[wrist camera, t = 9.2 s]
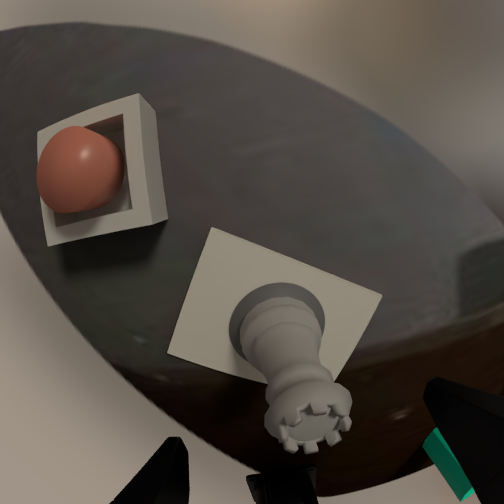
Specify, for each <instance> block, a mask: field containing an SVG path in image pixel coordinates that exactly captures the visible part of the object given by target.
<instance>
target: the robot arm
mask: <svg viewBox="0 0 504 504" xmlns="http://www.w3.org/2000/svg"><path fill="white" fill-rule="evenodd" d="M423 399H424V402H425V404H426V406H427V408H428V410H429V412H430V414H431V416H432V418H433V420H434V422H435V424H436V426H437V428H438V430H439V432H440V433H441V435H442V437H443V438H444V440H445V441H446V443H447V445H448V446H449V448H450V449H451V451H452V453H453V454H454V456H455V458H456V459H457V461H458V463H459V465H460V466H461V468H462V470H463V471H464V473H465V475H466V477H467V478H468V480H469V482H470V484H471V486H472V487H473V489H474V491H475V493H476V495H477V497H478V499H479V501H480V502H481V504H504V397H503V396H499V395H496V394H492V393H489V392H485V391H482V390H478V389H475V388H472V387H468V386H465V385H462V384H459V383H456V382H453V381H449V380H446V379H443V378H440V377H434V378H432V379H430V380H428V382H427V384H426V388H425V391H424V395H423ZM188 459H189V458H188V451H187V449H186V447H185V445H184V443H183V441H182V439H181V438H180V437H168V438H167V439H166V440H165V441H164V443H163V444H162V445H161V446H160V448H159V449H158V450H157V451H156V452H155V453H154V455H153V456H152V457H151V458H150V459H149V460H148V462H147V463H146V464H145V465H144V466H143V467H142V468H141V470H140V471H139V472H138V473H137V474H136V475H135V476H134V477H133V479H132V480H131V481H130V482H129V483H128V484H127V485H126V486H125V488H124V489H123V490H122V491H121V492H120V493H119V494H118V495H117V496H116V497H115V498H114V501H112V502H111V503H110V504H188V503H189V490H190V489H189V488H190V487H189V461H188ZM246 481H247V484H248V486H249V489H250V492H251V494H252V497H253V499H254V501H255V502H256V504H318V500H317V497H316V493H315V481H316V466H315V464H310V465H305V466H301V467H296V468H291V469H286V470H280V471H274V472H267V473H260V474H252V475H248V476H246Z"/></svg>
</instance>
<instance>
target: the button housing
mask: <svg viewBox="0 0 504 504" xmlns="http://www.w3.org/2000/svg"><path fill="white" fill-rule="evenodd" d="M71 126H81V127H84V128H87V129H89V130H91V131H94V132H96V133H98V134H100V135H102V136H105V137H107V138H109V139H111V140H113V141H114V142H115V143H116V144H117V145H118V146H119V148H120V149H121V151H122V154H123V157H124V161H125V174H124V179H123V183H122V185H121V188H120V190H119V192H118V193H117V195H116V196H115V197H114V198H113V200H112V201H110V202H109V203H108V204H107V205H105V206H103V207H101V208H99V209H94V210H87V211H79V212H72V213H58V212H55V211H53V210H52V209H50V208H49V207H48V206H47V205H46V204H45V203H44V201H43V200H42V198H41V196H40V198H41V207H42V214H43V221H44V228H45V233H46V239H47V244H48V246H52V245H56V244H60V243H64V242H69V241H73V240H78V239H82V238H87V237H92V236H96V235H101V234H106V233H111V232H116V231H121V230H126V229H131V228H136V227H142V226H147V225H153V224H155V223H158V222H161V221H164V220H166V219H168V214H167V208H166V201H165V194H164V187H163V180H162V172H161V163H160V154H159V145H158V134H157V123H156V112H155V111H154V109H153V108H152V107H151V106H150V105H149V104H148V103H147V102H146V100H145V99H144V98H143V97H142V96H141V95H140V94H139V93H138V94H135V95H131V96H128V97H125V98H121V99H118V100H115V101H112V102H109V103H106V104H103V105H100V106H97V107H95V108H92V109H89V110H86V111H84V112H81V113H79V114H76V115H74V116H71V117H69V118H67V119H64V120H62V121H60V122H58V123H55V124H53V125H51V126H49V127H47V128H45V129H43V130H41V131H39V132H38V162H39V159H40V156H41V153H42V151H43V149H44V147H45V146H46V144H47V143H48V141H49V140H50V139H51V138H52V137H53V136H54V135H55V134H56V133H58V132H59V131H61V130H62V129H64V128H67V127H71Z"/></svg>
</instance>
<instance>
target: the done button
mask: <svg viewBox="0 0 504 504" xmlns="http://www.w3.org/2000/svg"><path fill="white" fill-rule="evenodd" d="M124 174H125V161H124V157H123V154H122V151H121V149H120V148H119V146H118V145H117V144H116V143H115V142H114V141H113V140H111V139H109V138H107V137H105V136H102V135H100V134H98V133H96V132H94V131H91V130H89V129H87V128H84V127H81V126H71V127H67V128H64V129H62V130H61V131H59V132H58V133H56V134H55V135H54V136H53V137H52V138H51V139H50V140H49V141H48V143H47V144H46V146H45V147H44V149H43V151H42V153H41V156H40V159H39V162H38V167H37V186H38V191H39V193H40V196H41V198H42V200H43V201H44V203H45V204H46V205H47V206H48V207H49V208H50V209H52V210H53V211H55V212H58V213H72V212H79V211H87V210H94V209H99V208H101V207H103V206H105V205H107V204H108V203H109V202H110V201H112V200H113V198H114V197H115V196H116V195H117V193H118V192H119V190H120V188H121V185H122V183H123V179H124Z"/></svg>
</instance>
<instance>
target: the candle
mask: <svg viewBox="0 0 504 504" xmlns="http://www.w3.org/2000/svg"><path fill="white" fill-rule="evenodd" d="M422 447H423V448H424V450H425V451H426V453H427V454H428V455H429V457H430V458H431V460H432V461H433V463H434V464H435V465H436V467H437V468H438V470H439V471H440V472H441V474H442V475H443V477H444V478H445V480H446V481H447V483H448V484H449V486H450V487H451V489H452V490H453V492H454V493H455V495H456V496H457V498H458V499H459V500H460V502H461V501H462V500H464V499H466V498H468V497H469V496H470V495H472V494H473V493H474V492H475V491H474V489H473V487H472V486H471V484H470V482H469V480H468V478H467V477H466V475H465V473H464V471H463V470H462V468H461V466H460V465H459V463H458V461H457V459H456V458H455V456H454V454H453V453H452V451H451V449H450V448H449V446H448V445H447V443H446V441H445V440H444V438H443V437H442V435H441V433H440V432H439V430H438V428H437V427H436V428H435V429H434V430H433V431H432V432H431V433H430V435H429V436H428V437H427V438H426V439H425V441H424V444H423V446H422Z"/></svg>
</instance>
